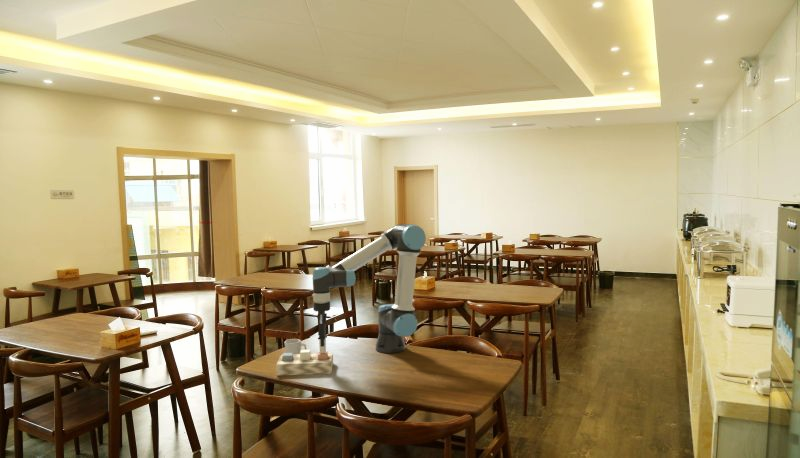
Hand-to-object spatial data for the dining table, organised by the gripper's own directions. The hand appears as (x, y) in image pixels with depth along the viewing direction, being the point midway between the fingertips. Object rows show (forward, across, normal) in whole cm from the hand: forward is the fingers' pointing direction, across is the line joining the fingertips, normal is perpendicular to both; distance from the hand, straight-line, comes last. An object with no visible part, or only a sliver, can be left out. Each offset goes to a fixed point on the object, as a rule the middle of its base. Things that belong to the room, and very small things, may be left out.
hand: (322, 352), depth 238 cm
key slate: (+5, 0, -16) cm, 17 cm away
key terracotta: (+5, 0, 0) cm, 5 cm away
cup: (+8, -19, -15) cm, 25 cm away
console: (+8, 0, -8) cm, 11 cm away
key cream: (+4, 0, -8) cm, 9 cm away
